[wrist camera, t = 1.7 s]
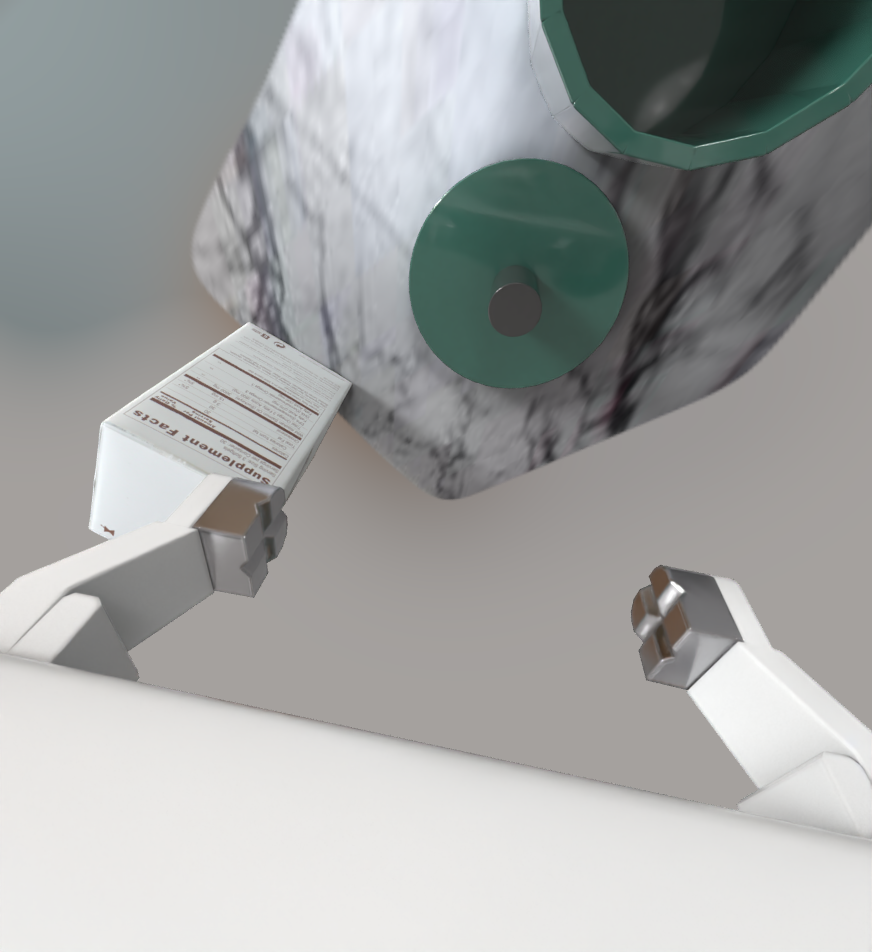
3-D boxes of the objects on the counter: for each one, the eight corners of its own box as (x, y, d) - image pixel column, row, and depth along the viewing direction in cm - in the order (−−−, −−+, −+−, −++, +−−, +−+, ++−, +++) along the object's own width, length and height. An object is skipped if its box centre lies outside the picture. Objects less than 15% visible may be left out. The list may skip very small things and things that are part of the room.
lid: (630, 130, 19) (659, 128, 16) (619, 368, 26) (637, 406, 22) (390, 185, 22) (365, 195, 18) (434, 390, 28) (421, 428, 24)
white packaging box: (315, 458, 33) (228, 598, 23) (219, 405, 31) (79, 531, 21) (357, 382, 28) (274, 512, 18) (249, 315, 27) (92, 420, 17)
